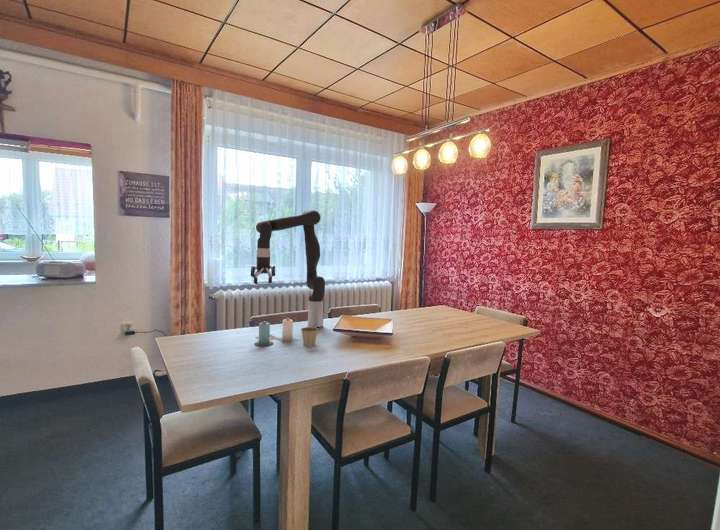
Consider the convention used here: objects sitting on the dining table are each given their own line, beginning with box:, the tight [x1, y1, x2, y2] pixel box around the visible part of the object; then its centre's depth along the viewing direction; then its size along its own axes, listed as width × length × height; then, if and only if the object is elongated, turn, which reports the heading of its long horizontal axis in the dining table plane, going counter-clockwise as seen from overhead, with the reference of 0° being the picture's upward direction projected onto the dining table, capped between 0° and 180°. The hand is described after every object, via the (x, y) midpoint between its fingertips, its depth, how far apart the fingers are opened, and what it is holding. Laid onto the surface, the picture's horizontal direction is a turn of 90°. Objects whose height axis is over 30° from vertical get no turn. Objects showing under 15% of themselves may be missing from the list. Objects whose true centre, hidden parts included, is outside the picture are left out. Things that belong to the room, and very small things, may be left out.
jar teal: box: [258, 320, 271, 345], centre depth 186 cm, size 6×6×12 cm
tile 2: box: [275, 336, 300, 344], centre depth 196 cm, size 10×10×1 cm
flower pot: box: [300, 326, 319, 347], centre depth 190 cm, size 9×9×9 cm
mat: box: [253, 340, 275, 348], centre depth 186 cm, size 10×10×1 cm
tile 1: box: [254, 334, 278, 341], centre depth 197 cm, size 10×10×1 cm
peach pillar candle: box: [281, 317, 294, 341], centre depth 195 cm, size 6×6×12 cm
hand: (262, 283), depth 204 cm, fingers open, 8 cm apart
